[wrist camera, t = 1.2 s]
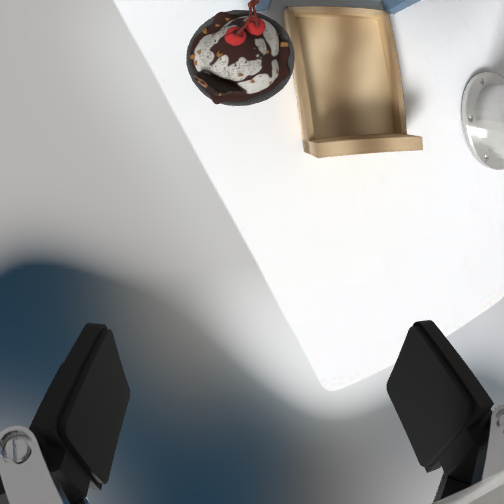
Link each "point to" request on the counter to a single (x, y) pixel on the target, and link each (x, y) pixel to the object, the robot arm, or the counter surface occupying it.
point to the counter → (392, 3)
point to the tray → (347, 81)
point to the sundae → (240, 57)
